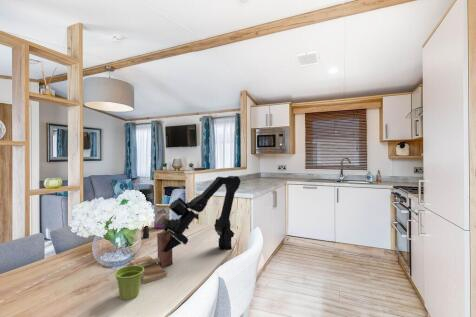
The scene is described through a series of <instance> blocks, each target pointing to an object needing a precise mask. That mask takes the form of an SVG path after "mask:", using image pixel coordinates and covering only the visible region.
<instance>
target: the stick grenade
mask: <svg viewBox="0 0 476 317" xmlns="http://www.w3.org/2000/svg"><path fill="white" fill-rule="evenodd" d="M153 190H154V189H153V188H150V187H148V188H139V189H138V192H139V191H140V192H142V193H143V194H144V195H145V197H146V200H147V201H150V202H151V203H152V204H153V205H154V199H153V196H154V194H153V193H154V192H153ZM152 204H151V205H152ZM142 230H143V231H142V238H143V239H149V238H150V230H149V225H148V226H145V227H144V226H143V229H142Z"/></svg>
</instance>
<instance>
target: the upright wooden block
mask: <svg viewBox="0 0 476 317" xmlns="http://www.w3.org/2000/svg"><path fill="white" fill-rule="evenodd" d="M170 235H171V236H172V233H170V232H168V231H165V230H163V231H162V232H157V234H156V237H157V238H156V239H157V257H155V258H152V259H151V260H147V261H144V262H140V263H138V265H139V266H142V267H143V266H147V265H150V264H153V263H157V264H158V265H159V266H160V267H162V268H165V267H167V266H168V267H169V266H172V265H173V248H172V249H170V250H169V251H167V252H164V249H165V247H166V246H167V244H168V243H169V241H170Z"/></svg>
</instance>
